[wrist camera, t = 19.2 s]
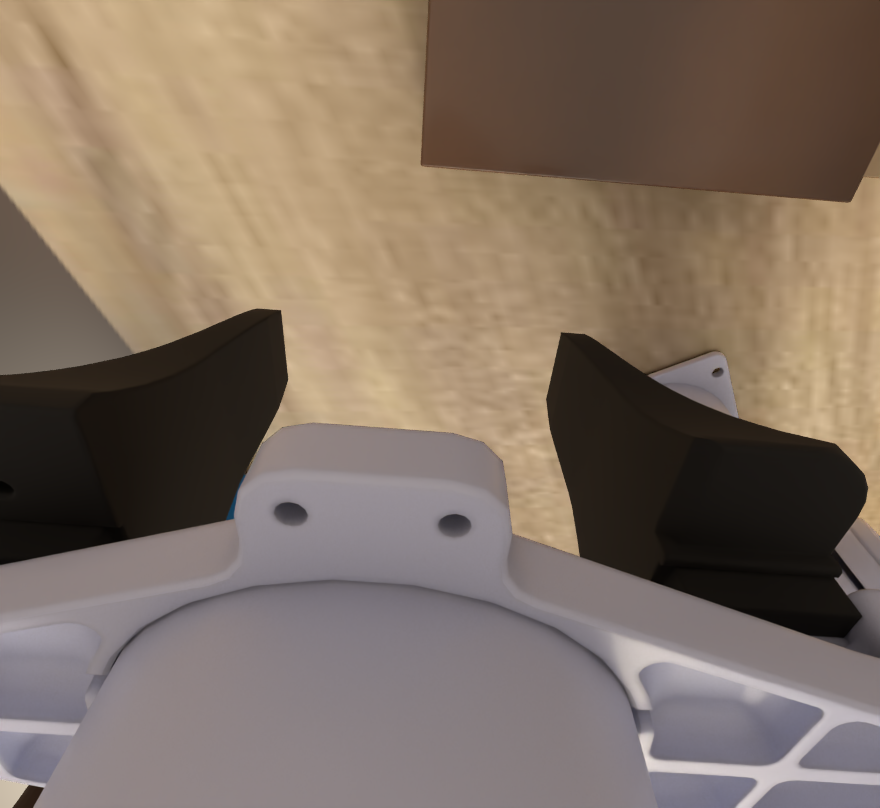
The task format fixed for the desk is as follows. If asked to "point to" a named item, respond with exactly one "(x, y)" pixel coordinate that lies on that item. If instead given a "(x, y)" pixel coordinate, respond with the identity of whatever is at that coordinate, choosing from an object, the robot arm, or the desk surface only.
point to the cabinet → (657, 92)
